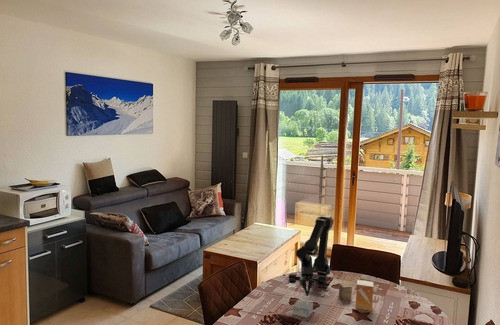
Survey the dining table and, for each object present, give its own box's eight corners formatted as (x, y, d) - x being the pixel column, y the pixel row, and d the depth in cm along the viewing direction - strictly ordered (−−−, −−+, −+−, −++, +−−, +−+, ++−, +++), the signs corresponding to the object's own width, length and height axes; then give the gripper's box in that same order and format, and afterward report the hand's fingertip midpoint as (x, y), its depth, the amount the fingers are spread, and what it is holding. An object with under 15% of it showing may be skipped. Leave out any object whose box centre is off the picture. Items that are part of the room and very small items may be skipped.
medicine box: (298, 307, 198) (292, 314, 190) (298, 298, 198) (292, 305, 190) (313, 310, 194) (307, 318, 187) (313, 302, 194) (307, 309, 186)
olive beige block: (338, 295, 212) (339, 283, 211) (347, 295, 213) (348, 282, 212) (342, 299, 207) (343, 287, 207) (351, 299, 208) (351, 286, 207)
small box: (355, 308, 198) (356, 284, 196) (356, 303, 204) (357, 279, 202) (372, 311, 195) (373, 286, 194) (372, 305, 201) (373, 281, 200)
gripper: (289, 258, 198) (288, 288, 189) (326, 260, 197) (327, 291, 187) (288, 267, 207) (288, 297, 197) (324, 269, 205) (325, 299, 196)
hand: (307, 295), depth 194 cm, fingers closed
